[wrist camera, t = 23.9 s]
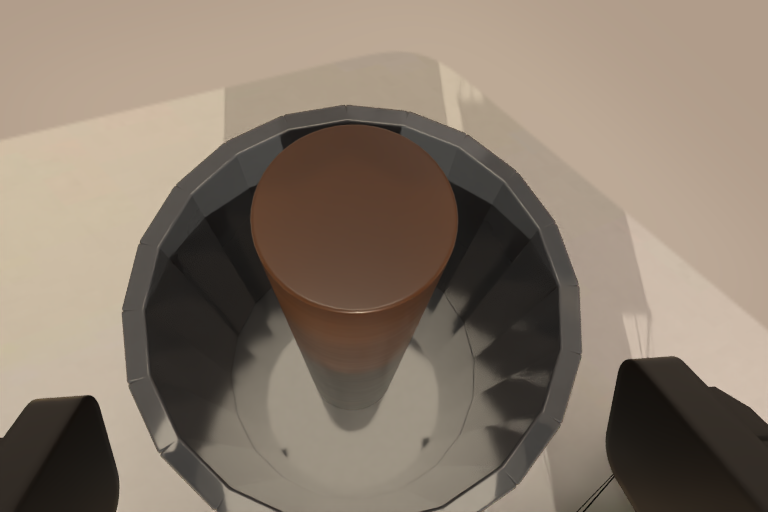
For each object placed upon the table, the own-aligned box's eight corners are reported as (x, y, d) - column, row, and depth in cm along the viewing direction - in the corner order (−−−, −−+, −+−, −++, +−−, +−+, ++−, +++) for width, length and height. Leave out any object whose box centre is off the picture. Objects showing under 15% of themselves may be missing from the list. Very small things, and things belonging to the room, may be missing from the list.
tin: (243, 544, 20) (144, 616, 10) (207, 275, 23) (107, 142, 13) (516, 473, 21) (651, 478, 11) (444, 228, 24) (504, 78, 15)
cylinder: (320, 418, 21) (267, 334, 7) (305, 338, 22) (235, 140, 8) (400, 399, 21) (484, 289, 8) (382, 322, 22) (429, 108, 9)
